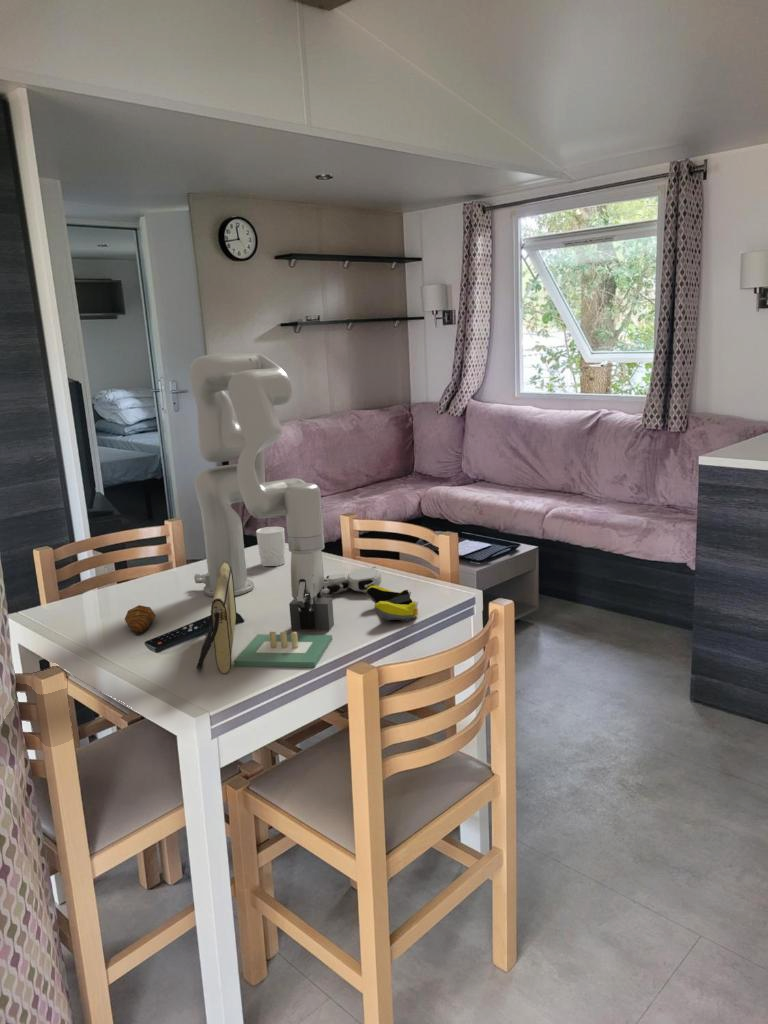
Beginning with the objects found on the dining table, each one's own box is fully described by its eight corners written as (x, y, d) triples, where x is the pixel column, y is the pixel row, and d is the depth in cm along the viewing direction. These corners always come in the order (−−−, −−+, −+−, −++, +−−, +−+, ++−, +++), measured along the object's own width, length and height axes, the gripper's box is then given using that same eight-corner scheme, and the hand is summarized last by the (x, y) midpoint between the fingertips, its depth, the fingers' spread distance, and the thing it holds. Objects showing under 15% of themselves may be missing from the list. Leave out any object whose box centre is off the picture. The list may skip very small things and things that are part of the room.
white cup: (253, 565, 218) (250, 531, 216) (274, 558, 224) (271, 525, 222) (272, 569, 213) (268, 534, 211) (292, 562, 219) (290, 528, 216)
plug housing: (291, 630, 164) (288, 599, 163) (296, 623, 168) (294, 593, 167) (329, 630, 163) (327, 599, 161) (334, 624, 167) (331, 593, 165)
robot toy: (323, 604, 184) (385, 594, 185) (320, 586, 183) (382, 576, 184) (321, 589, 196) (380, 580, 197) (319, 572, 195) (377, 563, 196)
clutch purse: (206, 627, 169) (199, 562, 166) (238, 624, 170) (231, 559, 167) (193, 683, 141) (184, 605, 138) (232, 678, 142) (224, 601, 138)
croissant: (129, 618, 179) (127, 597, 178) (159, 615, 180) (157, 594, 179) (121, 638, 166) (118, 616, 165) (154, 634, 167) (151, 613, 166)
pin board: (234, 665, 147) (232, 645, 146) (258, 638, 161) (256, 620, 160) (314, 667, 144) (313, 646, 143) (332, 639, 158) (330, 620, 157)
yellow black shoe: (376, 629, 163) (422, 624, 164) (375, 604, 162) (421, 599, 163) (366, 607, 177) (408, 602, 179) (364, 584, 176) (407, 579, 178)
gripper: (300, 532, 171) (306, 609, 174) (276, 553, 154) (284, 637, 158) (333, 532, 169) (338, 609, 173) (312, 552, 153) (319, 638, 156)
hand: (312, 622), depth 165 cm, fingers open, 6 cm apart
